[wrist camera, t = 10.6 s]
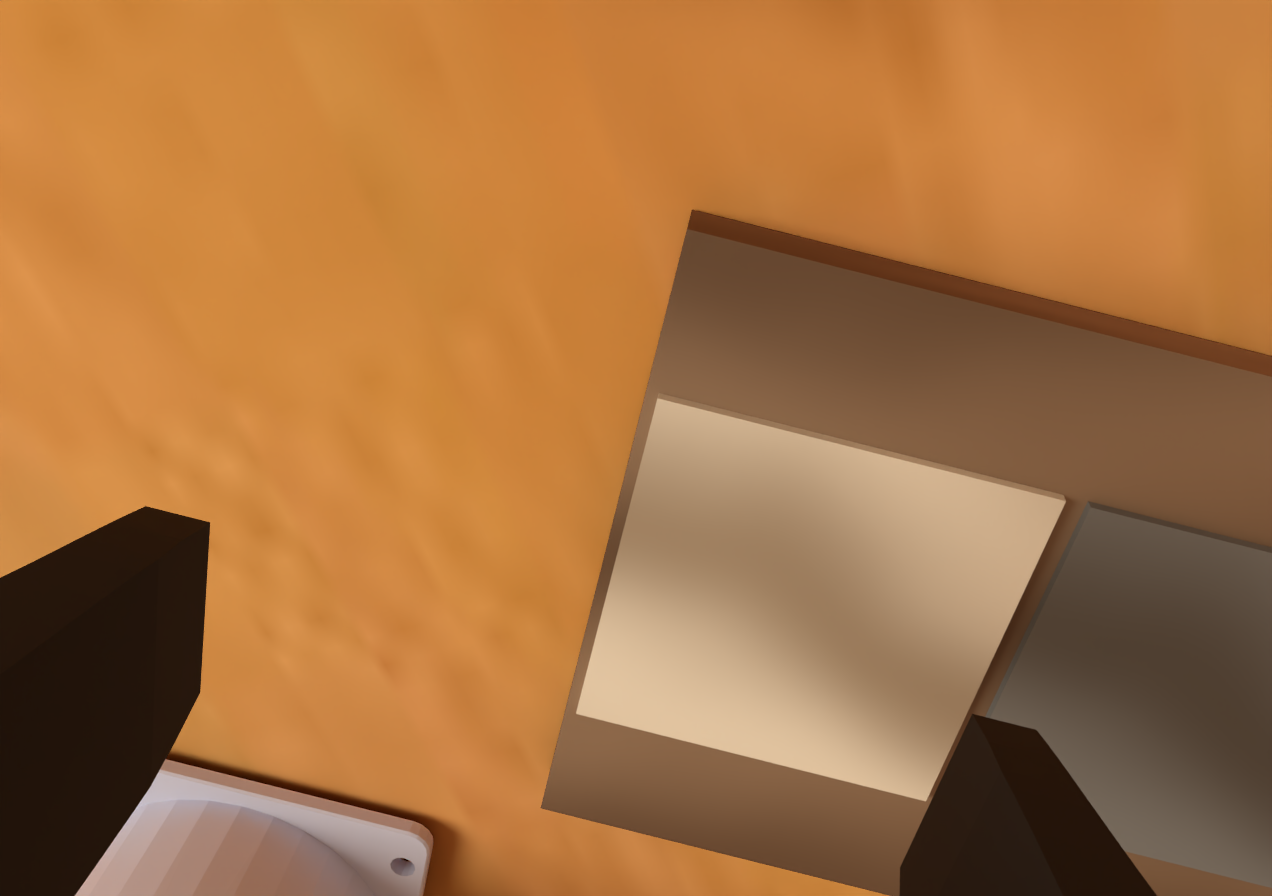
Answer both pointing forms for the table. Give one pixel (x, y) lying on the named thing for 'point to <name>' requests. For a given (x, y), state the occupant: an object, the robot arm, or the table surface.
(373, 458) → the table surface
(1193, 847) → the board
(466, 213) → the table surface
